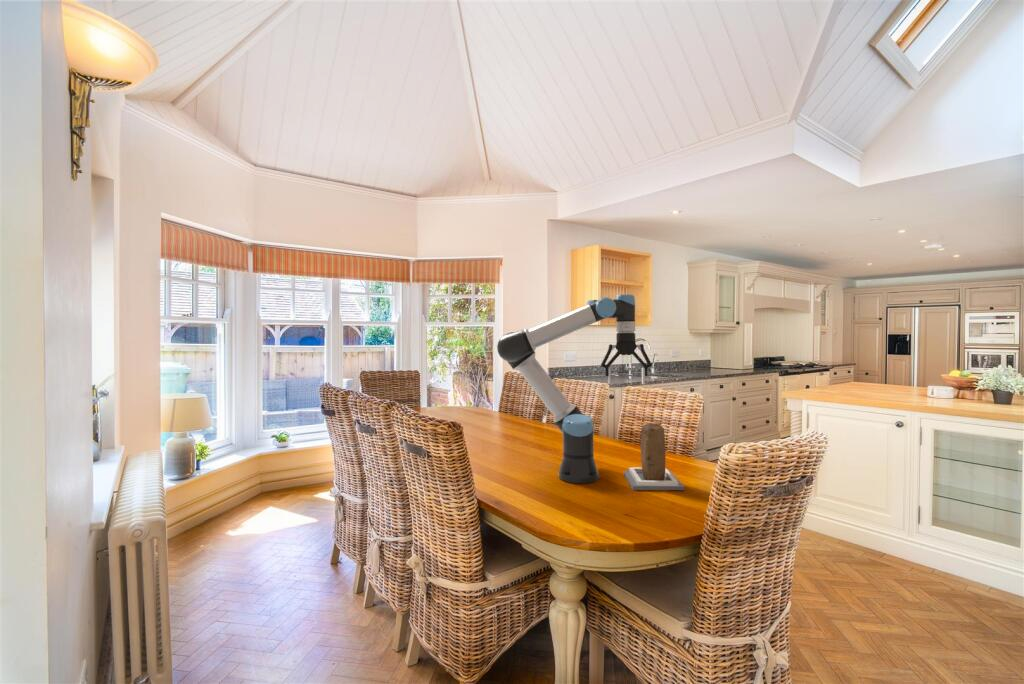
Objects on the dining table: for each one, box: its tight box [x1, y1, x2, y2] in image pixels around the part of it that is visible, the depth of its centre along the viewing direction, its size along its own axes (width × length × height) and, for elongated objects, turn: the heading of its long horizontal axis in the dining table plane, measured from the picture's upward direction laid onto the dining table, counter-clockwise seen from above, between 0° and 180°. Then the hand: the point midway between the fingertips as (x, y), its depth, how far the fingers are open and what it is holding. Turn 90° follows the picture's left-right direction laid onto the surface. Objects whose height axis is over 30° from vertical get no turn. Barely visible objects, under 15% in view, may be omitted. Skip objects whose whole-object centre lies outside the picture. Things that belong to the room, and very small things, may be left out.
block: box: [640, 423, 666, 481], centre depth 174 cm, size 11×8×20 cm
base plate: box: [623, 466, 686, 491], centre depth 175 cm, size 18×18×3 cm
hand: (626, 384), depth 192 cm, fingers open, 13 cm apart
